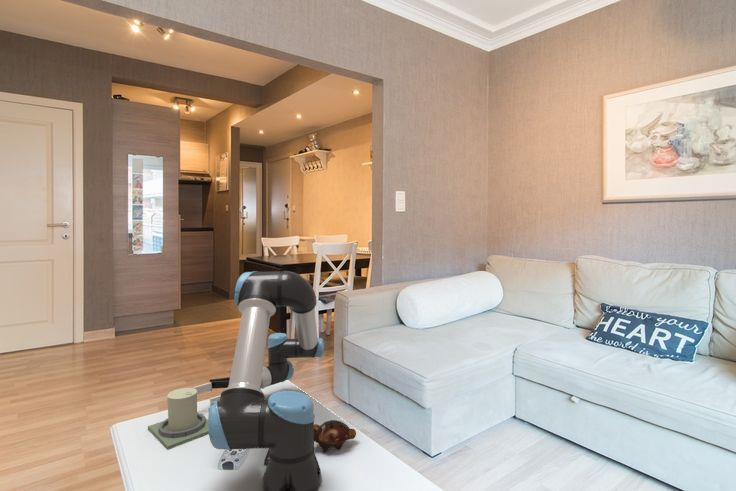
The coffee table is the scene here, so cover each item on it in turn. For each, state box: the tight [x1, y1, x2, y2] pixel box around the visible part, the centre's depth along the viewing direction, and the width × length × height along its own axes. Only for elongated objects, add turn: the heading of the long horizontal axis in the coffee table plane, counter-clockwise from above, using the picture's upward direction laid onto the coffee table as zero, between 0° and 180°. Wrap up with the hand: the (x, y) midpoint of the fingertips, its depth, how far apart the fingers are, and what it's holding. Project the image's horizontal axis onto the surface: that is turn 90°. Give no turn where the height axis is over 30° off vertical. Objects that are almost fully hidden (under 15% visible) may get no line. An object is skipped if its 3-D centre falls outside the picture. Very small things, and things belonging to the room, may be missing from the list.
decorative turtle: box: [314, 419, 357, 453], centre depth 124 cm, size 10×15×8 cm, turn 115°
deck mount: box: [147, 411, 209, 450], centre depth 134 cm, size 18×16×2 cm
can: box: [166, 387, 198, 432], centre depth 134 cm, size 9×9×12 cm
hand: (201, 396), depth 139 cm, fingers open, 13 cm apart
